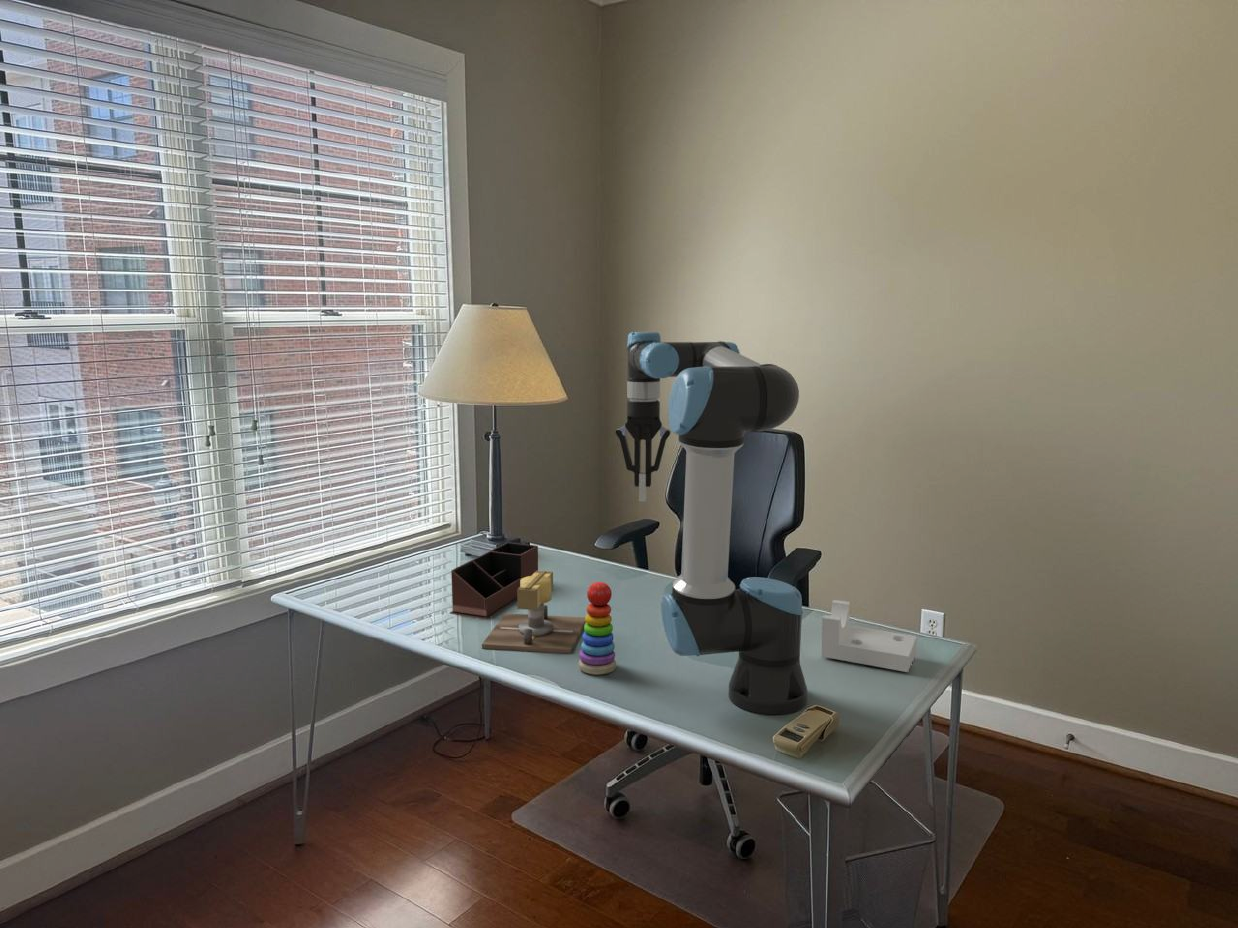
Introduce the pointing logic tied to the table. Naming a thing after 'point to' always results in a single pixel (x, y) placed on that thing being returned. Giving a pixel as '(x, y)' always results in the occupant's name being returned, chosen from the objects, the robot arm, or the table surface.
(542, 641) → the base
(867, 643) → the white mounting bracket
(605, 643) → the stacking toy
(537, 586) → the yellow block with ball
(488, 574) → the desk organizer
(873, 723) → the table surface
